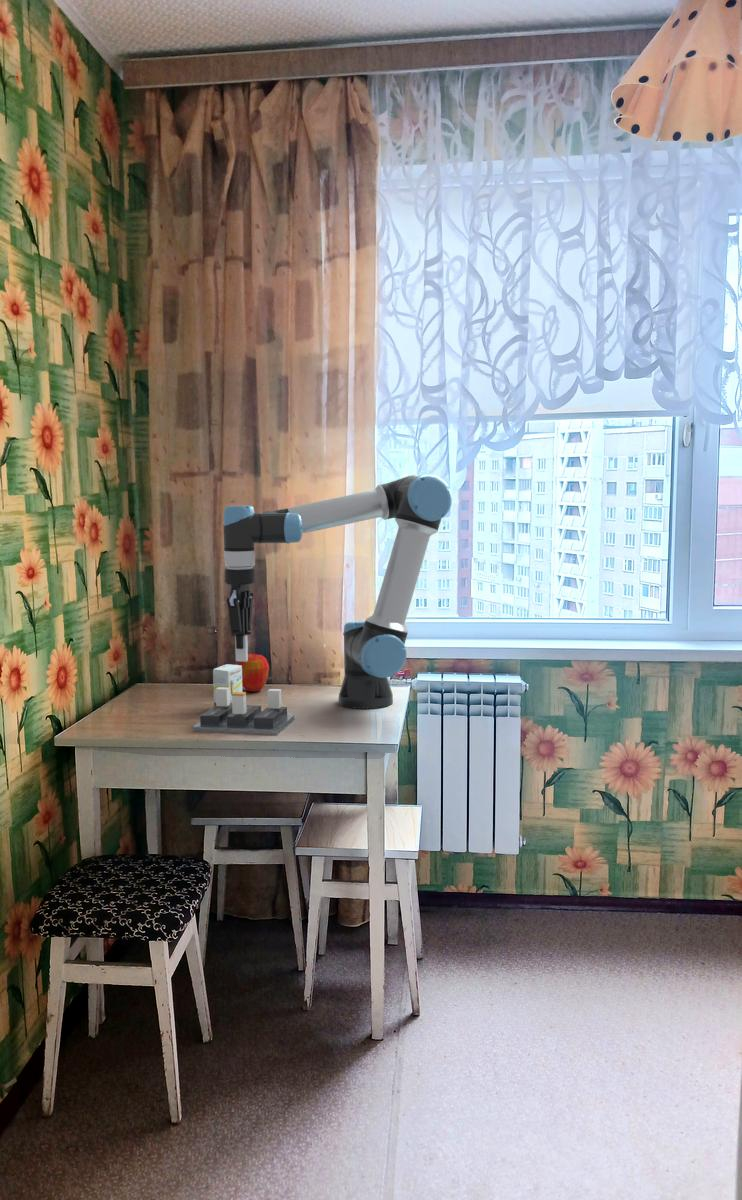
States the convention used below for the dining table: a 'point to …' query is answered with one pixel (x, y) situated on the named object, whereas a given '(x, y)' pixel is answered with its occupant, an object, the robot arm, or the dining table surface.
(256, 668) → the apple
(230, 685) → the ink box
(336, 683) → the dining table surface
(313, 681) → the dining table surface
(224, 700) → the handle
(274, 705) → the handle
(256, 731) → the panel
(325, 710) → the dining table surface
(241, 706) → the handle mid
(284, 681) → the dining table surface
